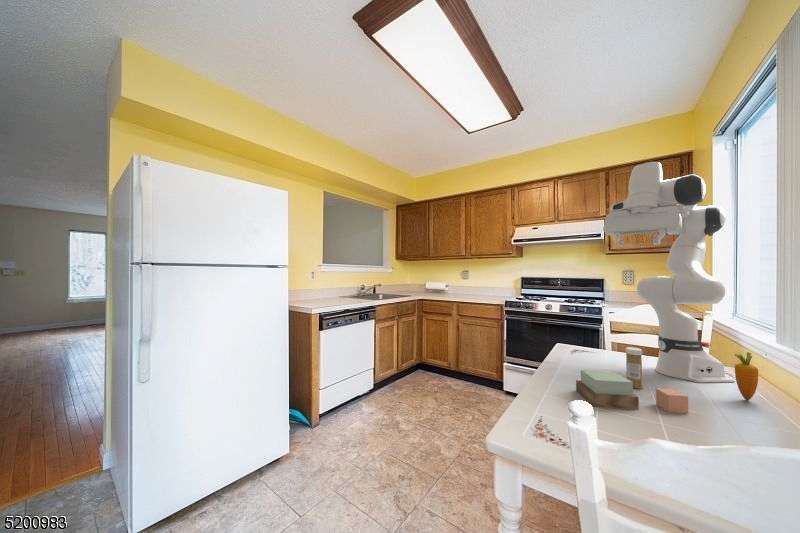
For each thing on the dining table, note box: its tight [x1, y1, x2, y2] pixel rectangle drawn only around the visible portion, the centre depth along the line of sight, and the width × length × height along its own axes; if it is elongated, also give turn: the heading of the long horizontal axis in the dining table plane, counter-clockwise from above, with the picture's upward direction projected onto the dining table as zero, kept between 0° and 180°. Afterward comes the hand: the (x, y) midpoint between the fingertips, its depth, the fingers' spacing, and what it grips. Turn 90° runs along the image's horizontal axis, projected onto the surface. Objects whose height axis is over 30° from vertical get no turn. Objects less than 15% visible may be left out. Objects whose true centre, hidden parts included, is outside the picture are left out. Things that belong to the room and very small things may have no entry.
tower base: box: [575, 379, 640, 410], centre depth 92 cm, size 12×12×4 cm
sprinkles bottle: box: [625, 346, 644, 390], centre depth 103 cm, size 5×5×14 cm
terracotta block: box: [655, 387, 689, 414], centre depth 86 cm, size 5×5×5 cm
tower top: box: [580, 368, 634, 396], centre depth 92 cm, size 10×10×4 cm
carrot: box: [734, 351, 759, 401], centre depth 92 cm, size 5×5×15 cm
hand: (637, 244), depth 96 cm, fingers open, 8 cm apart
